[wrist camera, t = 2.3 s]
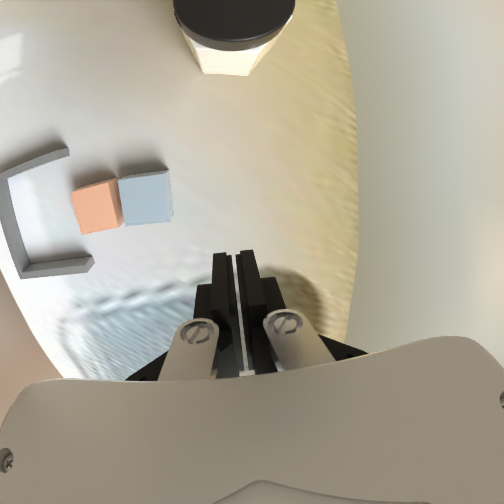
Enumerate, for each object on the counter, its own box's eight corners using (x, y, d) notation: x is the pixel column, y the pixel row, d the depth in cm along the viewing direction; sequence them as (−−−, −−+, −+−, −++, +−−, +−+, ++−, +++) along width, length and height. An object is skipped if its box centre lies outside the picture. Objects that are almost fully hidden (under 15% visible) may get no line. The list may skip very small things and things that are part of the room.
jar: (222, -1, 19) (225, -59, 9) (284, 35, 22) (321, -11, 11) (172, 56, 22) (142, 16, 11) (235, 92, 25) (245, 68, 14)
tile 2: (82, 186, 27) (70, 192, 24) (117, 177, 27) (107, 182, 24) (92, 225, 29) (81, 234, 26) (126, 218, 29) (118, 227, 27)
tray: (1, 173, 23) (-9, 177, 21) (68, 147, 24) (57, 149, 22) (28, 270, 30) (20, 279, 28) (94, 262, 31) (87, 272, 29)
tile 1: (126, 175, 27) (117, 180, 25) (169, 169, 28) (163, 173, 25) (133, 217, 29) (125, 226, 27) (174, 213, 30) (169, 221, 27)
